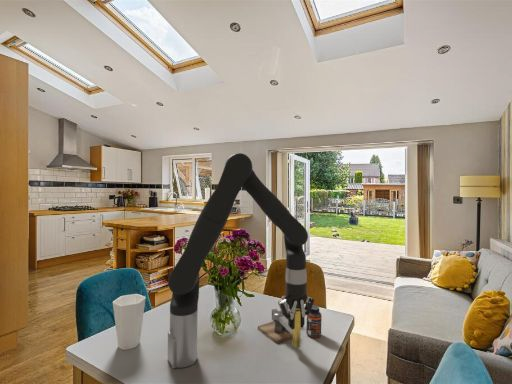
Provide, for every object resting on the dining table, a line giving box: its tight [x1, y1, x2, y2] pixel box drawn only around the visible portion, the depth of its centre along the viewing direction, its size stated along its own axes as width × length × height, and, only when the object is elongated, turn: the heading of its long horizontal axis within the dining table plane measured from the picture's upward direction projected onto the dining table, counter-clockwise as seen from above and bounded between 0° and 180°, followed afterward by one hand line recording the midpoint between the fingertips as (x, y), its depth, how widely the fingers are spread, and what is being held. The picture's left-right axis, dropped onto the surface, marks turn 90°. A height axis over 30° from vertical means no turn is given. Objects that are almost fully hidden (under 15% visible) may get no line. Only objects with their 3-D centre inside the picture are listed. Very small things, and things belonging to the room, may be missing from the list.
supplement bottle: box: [306, 304, 323, 339], centre depth 112 cm, size 6×6×11 cm
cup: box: [112, 293, 147, 351], centre depth 103 cm, size 11×10×17 cm
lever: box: [271, 308, 302, 349], centre depth 107 cm, size 20×5×13 cm, turn 22°
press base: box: [257, 317, 292, 345], centre depth 113 cm, size 13×10×7 cm
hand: (296, 327), depth 99 cm, fingers closed on lever, 3 cm apart
